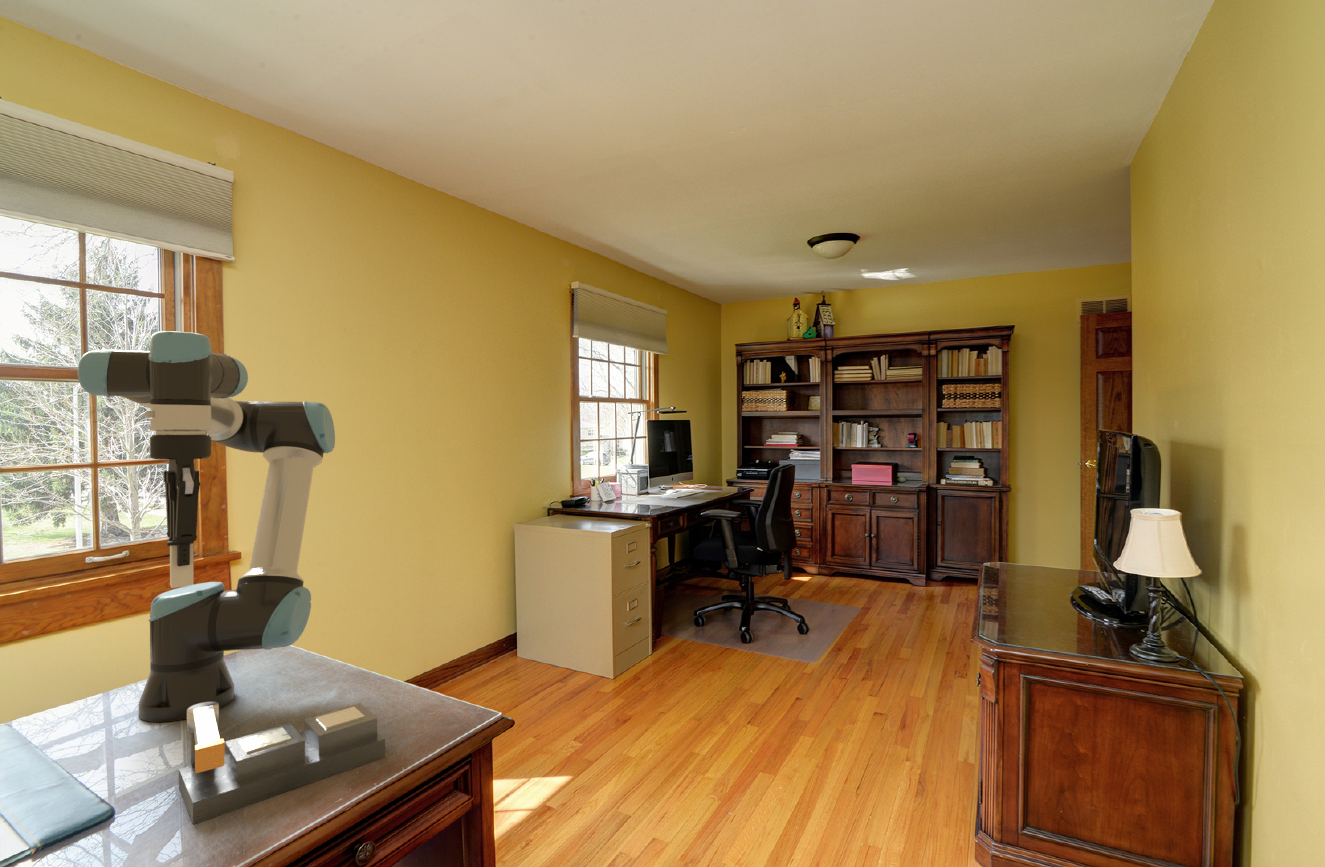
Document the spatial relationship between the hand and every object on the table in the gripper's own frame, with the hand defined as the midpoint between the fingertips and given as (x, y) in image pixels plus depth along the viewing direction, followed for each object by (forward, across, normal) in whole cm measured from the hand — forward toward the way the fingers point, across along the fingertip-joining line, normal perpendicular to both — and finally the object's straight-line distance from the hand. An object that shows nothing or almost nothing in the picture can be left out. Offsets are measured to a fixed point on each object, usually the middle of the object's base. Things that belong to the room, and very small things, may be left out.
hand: (181, 585), depth 99 cm
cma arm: (+22, +10, +1) cm, 24 cm away
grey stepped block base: (+30, +9, +12) cm, 34 cm away
